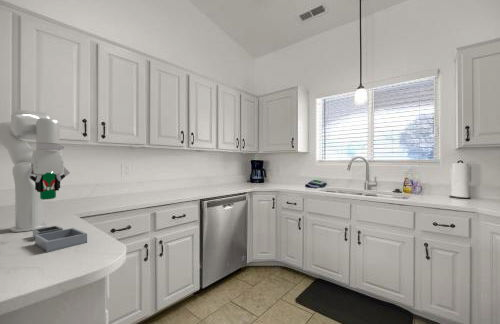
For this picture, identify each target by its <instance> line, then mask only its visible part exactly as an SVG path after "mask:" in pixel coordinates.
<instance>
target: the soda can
mask: <svg viewBox="0 0 500 324" xmlns="http://www.w3.org/2000/svg"><path fill="white" fill-rule="evenodd" d="M40 182H41V192H40V199H42V200H43V201H45V200H53V199H56V198H57V191H56V175H55V174H54V173H53V172H47V173H45V174H44V175H42V176H41V179H40Z"/></svg>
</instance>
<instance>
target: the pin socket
mask: <svg viewBox="0 0 500 324" xmlns="http://www.w3.org/2000/svg"><path fill="white" fill-rule="evenodd" d="M60 230H64V229H63V227H60V226H58V225H51V226H46V227H44V228H40V229H35V230H32V238H34V239H35V235H39V234H44V233H50V232H55V231H60Z"/></svg>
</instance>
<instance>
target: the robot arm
mask: <svg viewBox="0 0 500 324" xmlns="http://www.w3.org/2000/svg"><path fill="white" fill-rule="evenodd" d="M60 125H61V124H60V122H59V121H58V119H55V118H51V117H50V115H49V114H47V113H46V112H41V111H33V110H28V109H27V110H26V109H18V110H15V111H13V112H12V113H11V115H10V121H3V122H0V144H1V145H2V146H3V147H4V148H5V149H6V150H7V151H8V154H9V157H10V159H11V162H12V163H13V167H12V169H11V170H12V176H13V180H14V181H13V182H14V197H15V199H14V200H15V202H14V203H15V204H14V207H15V208H14V211H15V212H14V215H15V216H14V217H15V218H14V223H15V224H14V226H12V227H10V230H9V231H10V232H13V233H16V232H17V233H20V232H29V231H31V232H32V231H33V230H35V229H41V228H46V227H48V223H47V222H44V200H42V199H40V192H41V182H40V179H41V176H42V175H44V174H45V173H47V172H53V173H54V174H55V175H56V192H57V191H59V189H61V181H62V180H63V179H64V178H65V177H67V176H68V175H70V174H71V173H70V171H69V170H68V169H67V168H66V167H65V164H64V156H63V152H62V151H61V150H64V148H65V147H64V146H63V145H61V144H60V143H61V142H60V138H61V137H60V136H61V135H60V131H61V130H60V127H61V126H60ZM25 140H35V148H32V147H31V145H30V144H29V143H28V142H27V141H25Z"/></svg>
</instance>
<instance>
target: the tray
mask: <svg viewBox="0 0 500 324" xmlns="http://www.w3.org/2000/svg"><path fill="white" fill-rule="evenodd" d="M34 239H35V240H34V245H35V246H37V247H38V248H40V249H41V250H42V251H44V252H46V253H50V252H54V251H58V250H62V249H67V248H70V247H75V246H79V245H84V244H87V243H88V233H87V232H84V231H82V230H79V229H77V228H74V227H70V228H65V229H63V230H60V231H55V232H50V233H44V234H39V235H35V238H34Z"/></svg>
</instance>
